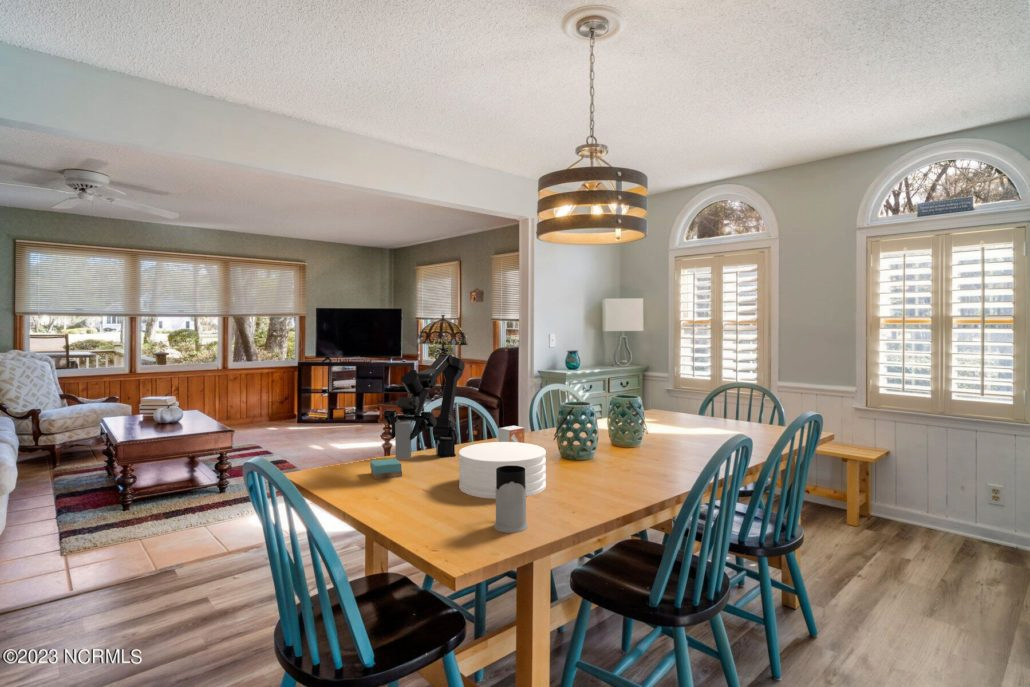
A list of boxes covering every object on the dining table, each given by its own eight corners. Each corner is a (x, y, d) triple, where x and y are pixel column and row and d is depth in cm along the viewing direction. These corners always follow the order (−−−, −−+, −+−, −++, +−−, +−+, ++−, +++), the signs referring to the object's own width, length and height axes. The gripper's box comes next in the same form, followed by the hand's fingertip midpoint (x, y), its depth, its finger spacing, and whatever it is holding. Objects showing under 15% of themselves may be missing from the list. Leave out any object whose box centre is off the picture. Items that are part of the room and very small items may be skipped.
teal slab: (395, 465, 204) (395, 458, 204) (401, 471, 196) (401, 464, 196) (370, 467, 201) (370, 461, 200) (374, 474, 192) (374, 466, 192)
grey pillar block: (411, 455, 198) (410, 420, 197) (410, 458, 193) (410, 423, 192) (396, 455, 197) (396, 421, 196) (395, 459, 192) (395, 423, 192)
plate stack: (490, 470, 204) (489, 438, 203) (560, 481, 190) (560, 447, 189) (441, 490, 180) (441, 454, 179) (518, 504, 166) (517, 465, 165)
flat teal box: (396, 471, 204) (396, 465, 204) (402, 478, 196) (401, 471, 196) (371, 474, 201) (371, 467, 201) (375, 481, 192) (375, 474, 192)
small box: (509, 465, 211) (509, 430, 210) (498, 462, 216) (497, 427, 215) (525, 461, 217) (524, 427, 216) (513, 458, 221) (513, 425, 221)
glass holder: (494, 533, 143) (494, 474, 142) (492, 514, 157) (492, 460, 156) (529, 532, 143) (529, 473, 143) (524, 513, 158) (523, 459, 157)
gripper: (384, 386, 201) (367, 423, 191) (432, 388, 195) (417, 426, 185) (396, 406, 208) (380, 442, 198) (443, 408, 203) (429, 445, 192)
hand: (401, 438), depth 193 cm, fingers closed on grey pillar block, 7 cm apart
